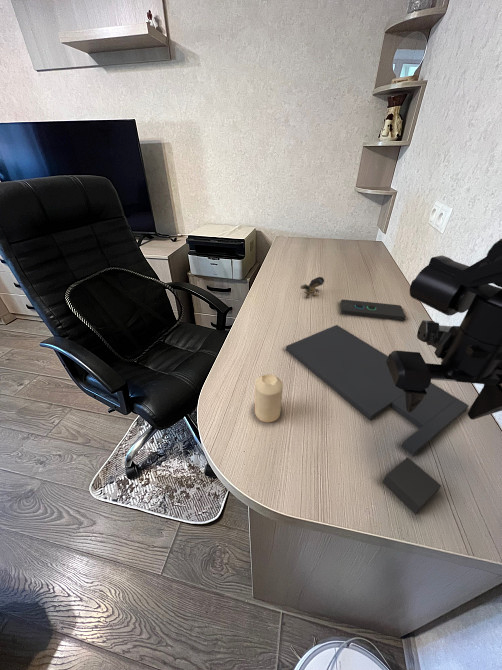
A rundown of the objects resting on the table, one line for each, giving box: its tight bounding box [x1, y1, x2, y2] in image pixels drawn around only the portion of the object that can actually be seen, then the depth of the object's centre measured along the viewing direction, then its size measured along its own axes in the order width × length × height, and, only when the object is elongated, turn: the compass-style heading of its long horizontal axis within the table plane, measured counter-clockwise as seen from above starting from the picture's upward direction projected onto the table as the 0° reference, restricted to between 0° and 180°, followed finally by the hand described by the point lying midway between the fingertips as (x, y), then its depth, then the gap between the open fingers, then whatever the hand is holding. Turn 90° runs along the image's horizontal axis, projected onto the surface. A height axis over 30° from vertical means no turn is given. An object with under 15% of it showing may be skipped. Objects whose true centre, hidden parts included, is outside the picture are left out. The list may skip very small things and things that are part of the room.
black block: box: [382, 457, 442, 515], centre depth 46 cm, size 6×6×2 cm
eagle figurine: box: [299, 276, 325, 299], centre depth 105 cm, size 8×7×9 cm
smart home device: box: [340, 299, 406, 322], centre depth 95 cm, size 8×2×20 cm
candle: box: [254, 373, 284, 423], centre depth 57 cm, size 6×6×10 cm
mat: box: [285, 324, 470, 457], centre depth 69 cm, size 38×20×2 cm, turn 33°
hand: (438, 413), depth 44 cm, fingers open, 9 cm apart
